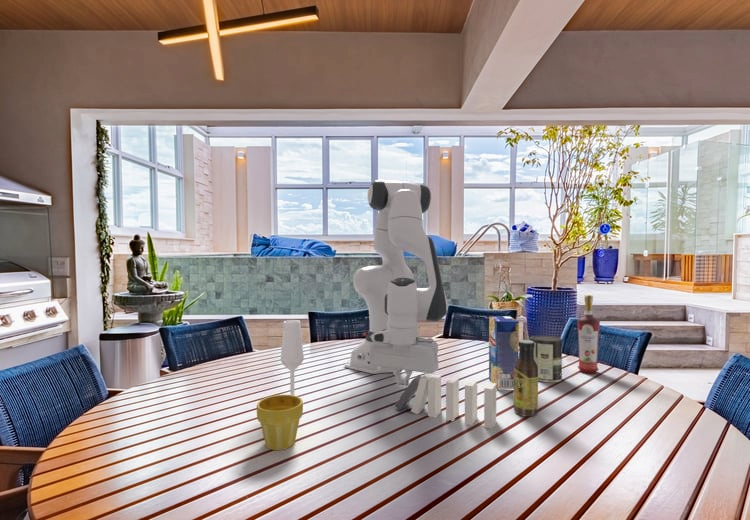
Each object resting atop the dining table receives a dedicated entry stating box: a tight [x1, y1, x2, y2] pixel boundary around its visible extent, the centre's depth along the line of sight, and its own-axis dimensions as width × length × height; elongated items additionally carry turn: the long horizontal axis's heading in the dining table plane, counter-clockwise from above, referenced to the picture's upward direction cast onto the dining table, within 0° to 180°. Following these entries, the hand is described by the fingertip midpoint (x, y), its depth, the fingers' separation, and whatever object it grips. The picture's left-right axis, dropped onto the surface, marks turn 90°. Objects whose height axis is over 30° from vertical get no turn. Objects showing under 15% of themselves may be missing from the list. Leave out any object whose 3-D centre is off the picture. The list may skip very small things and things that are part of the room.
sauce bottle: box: [513, 339, 539, 417], centre depth 114 cm, size 6×6×20 cm
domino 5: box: [464, 379, 478, 426], centre depth 109 cm, size 2×5×10 cm, turn 153°
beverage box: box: [488, 315, 520, 389], centre depth 138 cm, size 7×11×22 cm, turn 177°
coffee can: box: [529, 334, 563, 384], centre depth 145 cm, size 10×10×14 cm
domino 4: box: [445, 376, 460, 422], centre depth 112 cm, size 2×5×10 cm, turn 153°
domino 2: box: [410, 373, 433, 415], centre depth 115 cm, size 2×5×10 cm, turn 153°
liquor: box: [577, 294, 601, 375], centre depth 152 cm, size 7×7×28 cm
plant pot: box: [256, 394, 304, 451], centre depth 96 cm, size 10×10×10 cm
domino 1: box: [393, 374, 423, 412], centre depth 117 cm, size 2×5×10 cm
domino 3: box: [427, 374, 442, 419], centre depth 114 cm, size 2×5×10 cm, turn 153°
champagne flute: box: [280, 319, 305, 404], centre depth 122 cm, size 7×7×24 cm
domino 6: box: [483, 382, 497, 430], centre depth 107 cm, size 2×5×10 cm, turn 153°
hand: (402, 384), depth 118 cm, fingers closed
